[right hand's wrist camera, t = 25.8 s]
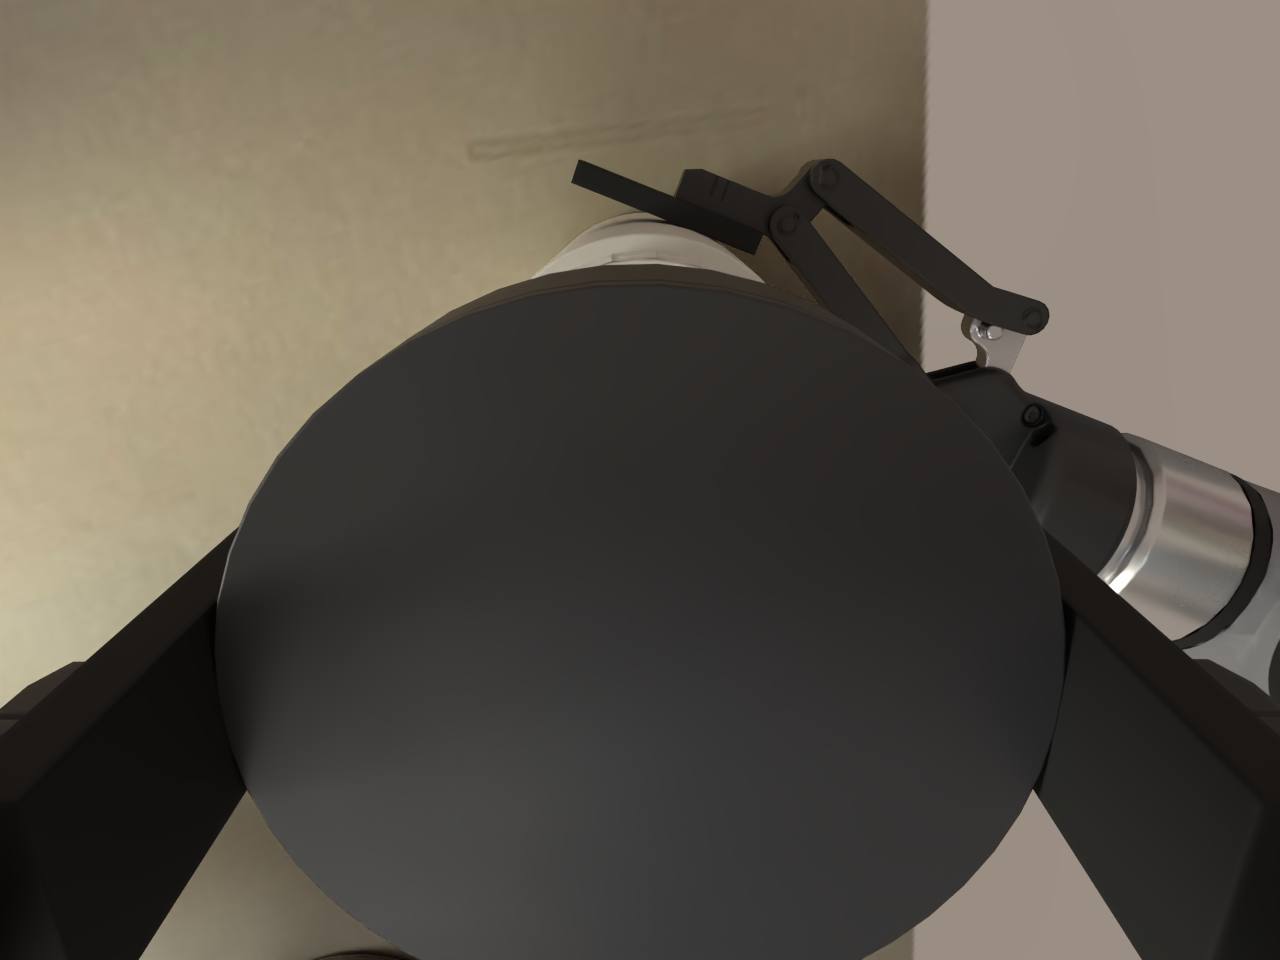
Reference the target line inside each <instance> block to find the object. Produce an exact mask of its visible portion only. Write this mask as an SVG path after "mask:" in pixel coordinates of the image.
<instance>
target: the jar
mask: <svg viewBox="0 0 1280 960" xmlns="http://www.w3.org/2000/svg"><path fill="white" fill-rule="evenodd" d="M625 264H664V265H674V266H683V267H692V268H701V269H710V270H715V271H718V272H722V273H726V274H730V275H734V276H738V277H742V278H746V279H750V280H754V281H758V282H762V283H765V282H764V281H763V280H762V279H761V278H760V277H759V276H758V275H757V274H756V273H754V272H753V271H752V270H751V269H750V268H749V267H748V266H746V265H745V264H744V263H743V262H742V261H741V260H740V259H738V258H737V257H736V256H735V255H734V254H733V253H732V252H730V251H729V250H728V249H727V248H726V247H725V246H724V245H722V244H721V243H720V242H719V241H717V240H714V239H712V238H709V237H707V236H704V235H702V234H699V233H697V232H694V231H692V230H689V229H687V228H684V227H682V226H679V225H677V224H674V223H672V222H669V221H667V220H664V219H662V218H659V217H657V216H654V215H651V214H649V213H632V214H626V215H620V216H617V217H614V218H610V219H607V220H605V221H603V222H600V223H598V224H596V225H594V226H592V227H591V228H589V229H588V230H586V231H584V232H583V233H581V234H580V235H579V236H578V237H576V238H575V239H574V240H573V241H572V242H571V243H569V244H568V245H567V246H566V247H565V248H564V249H563V250H562V251H561V252H559V253H558V254H557V255H556V256H555V257H554V258H553V259H552V260H551V261H550V262H548V263H547V264H546V265H545V266H544V267H543V268H542V269H541V270H540V271H539V272H538V273H536V274H535V275H534V276H533V277H532V278H531V279H533V278H537V277H540V276H543V275H547V274H550V273H556V272H563V271H569V270H575V269H581V268H588V267H594V266H600V265H625ZM765 284H766V283H765Z"/></svg>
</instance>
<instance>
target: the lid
mask: <svg viewBox="0 0 1280 960" xmlns="http://www.w3.org/2000/svg"><path fill="white" fill-rule="evenodd" d="M1065 650H1066V629H1065V622H1064V614H1063V607H1062V599H1061V591H1060V584H1059V580H1058V576H1057V573H1056V570H1055V566H1054V563H1053V559H1052V556H1051V553H1050V549H1049V546H1048V543H1047V539H1046V536H1045V533H1044V531H1043V529H1042V527H1041V525H1040V523H1039V520H1038V518H1037V516H1036V514H1035V512H1034V510H1033V508H1032V506H1031V504H1030V502H1029V500H1028V498H1027V495H1026V493H1025V491H1024V489H1023V487H1022V485H1021V484H1020V482H1019V481H1018V479H1017V478H1016V477H1015V475H1014V474H1013V472H1012V471H1011V469H1010V468H1009V466H1008V465H1007V464H1006V462H1005V461H1004V459H1003V458H1002V456H1001V455H1000V453H999V452H998V451H997V449H996V448H995V446H994V445H993V443H992V442H991V440H990V439H989V438H988V437H987V436H986V435H985V434H984V433H983V432H982V431H981V430H980V429H979V428H978V427H977V426H976V424H975V423H974V422H973V421H972V420H971V419H970V418H969V417H968V416H967V415H966V414H965V413H964V412H963V411H962V410H961V409H960V408H959V406H958V405H957V404H956V403H955V402H954V401H953V400H952V399H951V398H950V397H948V396H947V395H946V394H945V393H943V392H942V391H941V390H939V389H938V388H937V387H936V386H934V385H933V384H932V383H931V382H929V381H928V380H927V379H925V378H924V377H923V376H922V375H920V374H919V373H918V372H917V371H915V370H914V369H913V368H911V367H910V366H909V365H908V364H906V363H905V362H904V361H902V360H901V359H900V358H898V357H897V356H895V355H894V354H893V353H891V352H890V351H888V350H887V349H886V348H884V347H883V346H881V345H880V344H878V343H877V342H876V341H874V340H873V339H871V338H870V337H869V336H867V335H866V334H864V333H863V332H862V331H860V330H859V329H857V328H856V327H854V326H852V325H851V324H849V323H847V322H845V321H844V320H842V319H840V318H838V317H837V316H835V315H833V314H831V313H830V312H828V311H826V310H825V309H823V308H821V307H819V306H818V305H816V304H814V303H812V302H810V301H807V300H805V299H802V298H800V297H798V296H795V295H793V294H790V293H788V292H785V291H783V290H780V289H778V288H775V287H773V286H770V285H768V284H765V283H762V282H758V281H754V280H750V279H746V278H742V277H738V276H734V275H730V274H726V273H722V272H718V271H715V270H710V269H701V268H692V267H683V266H674V265H664V264H625V265H600V266H594V267H588V268H581V269H575V270H569V271H563V272H556V273H550V274H547V275H543V276H540V277H537V278H533V279H530V280H527V281H524V282H520V283H517V284H514V285H510V286H507V287H504V288H501V289H498V290H496V291H493V292H491V293H489V294H487V295H485V296H483V297H480V298H478V299H476V300H474V301H472V302H470V303H467V304H465V305H463V306H461V307H459V308H457V309H454V310H452V311H450V312H449V313H447V314H446V315H444V316H443V317H441V318H440V319H438V320H436V321H435V322H433V323H432V324H430V325H429V326H427V327H426V328H424V329H423V330H421V331H419V332H418V333H416V334H415V335H413V336H412V337H410V338H409V339H407V340H406V341H404V342H403V343H401V344H400V345H399V346H397V347H396V348H394V349H393V350H392V351H390V352H389V353H387V354H386V355H385V356H383V357H382V358H380V359H379V360H377V361H376V362H375V363H373V364H372V365H370V366H369V367H368V368H366V369H365V370H363V371H362V372H361V373H359V374H358V375H357V376H355V377H354V378H353V379H352V380H351V381H350V382H349V383H347V384H346V385H345V386H344V387H343V388H342V389H341V390H339V391H338V392H337V393H336V394H335V395H334V396H333V397H331V398H330V399H329V400H328V401H327V402H326V403H325V404H323V405H322V406H321V407H320V408H319V409H318V410H317V411H316V412H314V413H313V414H312V416H311V417H310V418H309V419H308V420H307V422H306V423H305V424H304V425H303V426H302V427H301V429H300V430H299V431H298V432H297V433H296V435H295V436H294V437H293V438H292V439H291V440H290V442H289V443H288V444H287V445H286V446H285V448H284V449H283V450H282V451H281V452H280V454H279V455H278V456H277V457H276V459H275V461H274V462H273V464H272V466H271V467H270V469H269V470H268V472H267V474H266V475H265V477H264V479H263V480H262V482H261V484H260V485H259V487H258V489H257V490H256V492H255V493H254V495H253V497H252V498H251V500H250V502H249V504H248V506H247V508H246V511H245V513H244V516H243V518H242V521H241V523H240V525H239V528H238V530H237V533H236V535H235V538H234V540H233V542H232V545H231V547H230V550H229V553H228V557H227V562H226V566H225V570H224V574H223V579H222V583H221V587H220V591H219V596H218V600H217V612H216V626H215V639H214V660H215V672H216V684H217V690H218V695H219V700H220V705H221V710H222V714H223V719H224V724H225V728H226V733H227V738H228V742H229V746H230V749H231V751H232V754H233V756H234V759H235V761H236V764H237V766H238V769H239V771H240V774H241V776H242V779H243V782H244V784H245V787H246V788H247V790H248V792H249V794H250V795H251V797H252V799H253V801H254V803H255V804H256V806H257V808H258V810H259V811H260V813H261V815H262V817H263V818H264V820H265V822H266V824H267V825H268V827H269V829H270V830H271V831H272V832H273V834H274V835H275V836H276V838H277V839H278V840H279V842H280V843H281V844H282V846H283V847H284V848H285V850H286V851H287V852H288V854H289V855H290V856H291V858H292V859H293V860H294V862H295V863H296V864H297V865H298V866H299V867H300V868H301V869H302V870H303V871H304V872H305V873H306V874H307V876H308V877H309V878H310V879H311V880H312V881H313V882H314V883H315V884H316V885H317V886H318V887H319V888H320V889H321V890H322V891H323V892H324V893H325V894H326V895H327V896H328V897H329V898H330V899H331V900H333V901H334V902H335V903H336V904H338V905H339V906H340V907H341V908H342V909H344V910H345V911H346V912H347V913H349V914H350V915H351V916H352V917H354V918H355V919H356V920H357V921H358V922H360V923H361V924H362V925H363V926H365V927H366V928H368V929H369V930H371V931H372V932H374V933H376V934H377V935H379V936H380V937H382V938H383V939H385V940H386V941H388V942H389V943H391V944H393V945H394V946H396V947H397V948H399V949H400V950H402V951H404V952H406V953H408V954H410V955H412V956H413V957H415V958H417V959H419V960H861V959H863V958H865V957H867V956H868V955H870V954H872V953H874V952H876V951H877V950H879V949H881V948H883V947H885V946H887V945H888V944H890V943H892V942H893V941H895V940H896V939H898V938H899V937H900V936H902V935H903V934H905V933H906V932H908V931H909V930H910V929H912V928H913V927H915V926H916V925H917V924H919V923H920V922H922V921H923V920H925V919H926V918H927V917H929V916H930V915H931V914H932V913H934V912H935V911H936V910H937V909H938V908H939V907H940V906H941V905H942V904H944V903H945V902H946V901H947V900H948V899H949V898H950V897H951V896H953V895H954V894H955V893H956V892H957V891H958V890H959V889H961V888H962V887H963V886H964V885H965V884H966V883H967V882H968V880H969V879H970V878H971V877H972V876H973V875H974V874H975V872H976V871H977V870H978V869H979V868H980V867H981V866H982V865H983V863H984V862H985V861H986V860H987V859H988V858H989V857H990V856H991V855H992V853H993V852H994V851H995V850H996V848H997V847H998V845H999V844H1000V842H1001V841H1002V839H1003V838H1004V837H1005V835H1006V834H1007V832H1008V831H1009V829H1010V828H1011V826H1012V825H1013V823H1014V822H1015V820H1016V819H1017V817H1018V816H1019V815H1020V813H1021V811H1022V809H1023V807H1024V805H1025V803H1026V801H1027V799H1028V797H1029V795H1030V793H1031V791H1032V789H1033V787H1034V785H1035V783H1036V781H1037V779H1038V777H1039V775H1040V773H1041V771H1042V768H1043V765H1044V762H1045V759H1046V757H1047V754H1048V751H1049V748H1050V745H1051V742H1052V739H1053V736H1054V732H1055V728H1056V723H1057V718H1058V713H1059V708H1060V703H1061V698H1062V693H1063V688H1064V682H1065Z"/></svg>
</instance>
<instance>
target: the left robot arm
mask: <svg viewBox="0 0 1280 960" xmlns="http://www.w3.org/2000/svg"><path fill="white" fill-rule="evenodd" d="M571 183H573V184H576V185H578V186H581V187H583V188H586V189H589V190H591V191H594V192H596V193H599V194H601V195H604V196H606V197H609V198H611V199H614V200H616V201H619V202H621V203H624V204H626V205H629V206H631V207H634V208H636V209H639V210H641V211H644V212H646V213H649V214H651V215H654V216H657V217H659V218H662V219H664V220H667V221H669V222H672V223H674V224H677V225H679V226H682V227H684V228H687V229H689V230H692V231H694V232H697V233H699V234H702V235H704V236H707V237H709V238H712V239H714V240H717V241H719V242H722V243H725V244H727V245H730V246H732V247H735V248H737V249H740V250H742V251H745V252H747V253H750V254H752V255H755V252H756V250H757V247H758V245H759V243H760V240H761V238H762V235H765V236H767V237H768V238H769V240H770V241H771V242H772V243H773V245H774V246H775V247H776V249H777V250H778V251H779V253H780V254H781V255H782V256H783V258H784V259H785V260H786V262H787V263H788V264H789V265H790V267H791V268H792V269H793V271H794V272H795V273H796V274H797V276H798V277H799V278H800V280H801V281H802V282H803V283H804V285H805V286H806V287H807V289H808V290H809V291H810V293H811V294H812V295H813V296H814V298H815V299H816V300H817V302H818V303H819V304H820V305H821V307H822V308H823V309H825V310H826V311H828V312H830V313H831V314H833V315H835V316H837V317H838V318H840V319H842V320H844V321H845V322H847V323H849V324H851V325H852V326H854V327H856V328H857V329H859V330H860V331H862V332H863V333H864V334H866V335H867V336H869V337H870V338H871V339H873V340H874V341H876V342H877V343H878V344H880V345H881V346H883V347H884V348H886V349H887V350H888V351H890V352H891V353H893V354H894V355H895V356H897V357H898V358H900V359H901V360H902V361H904V362H905V363H906V364H908V365H909V366H910V367H911V368H913V369H914V370H915V371H917V372H918V373H919V374H920V375H922V376H923V377H924V378H925V379H927V380H928V381H929V382H931V383H932V384H933V385H934V386H936V387H937V388H938V389H939V390H941V391H942V392H943V393H945V394H946V395H947V396H948V397H950V398H951V399H952V400H953V401H954V402H955V403H956V404H957V405H958V406H959V408H960V409H961V410H962V411H963V412H964V413H965V414H966V415H967V416H968V417H969V418H970V419H971V420H972V421H973V422H974V423H975V424H976V426H977V427H978V428H979V429H980V430H981V431H982V432H983V433H984V434H985V435H986V436H987V437H988V438H989V439H990V440H991V442H992V443H993V445H994V446H995V448H996V449H997V451H998V452H999V453H1000V455H1001V456H1002V458H1003V459H1004V461H1005V462H1006V464H1007V465H1008V466H1009V468H1010V469H1011V471H1012V472H1013V474H1014V475H1015V477H1016V478H1017V479H1018V481H1019V482H1020V484H1021V485H1022V487H1023V489H1024V491H1025V493H1026V495H1027V498H1028V500H1029V502H1030V504H1031V506H1032V508H1033V510H1034V512H1035V514H1036V516H1037V518H1038V520H1039V523H1040V525H1041V526H1042V527H1043V528H1044V529H1045V530H1046V531H1047V532H1048V533H1050V534H1051V535H1052V536H1053V537H1054V538H1055V539H1056V540H1058V541H1059V542H1060V543H1061V544H1062V545H1063V546H1064V547H1066V548H1067V549H1068V550H1069V551H1070V552H1071V553H1072V554H1074V555H1075V556H1076V557H1077V558H1078V559H1079V560H1080V561H1081V562H1083V563H1084V564H1085V565H1086V566H1087V567H1088V568H1089V569H1091V570H1092V571H1093V572H1094V573H1095V574H1096V575H1097V576H1099V577H1100V578H1101V579H1102V580H1103V581H1104V582H1105V583H1106V584H1108V585H1109V586H1110V587H1111V588H1112V589H1113V590H1114V591H1116V592H1117V593H1118V594H1119V595H1120V596H1121V597H1122V598H1124V599H1125V600H1126V601H1127V602H1128V603H1129V604H1130V605H1131V606H1133V607H1134V608H1135V609H1136V610H1137V611H1138V612H1139V613H1141V614H1142V615H1143V616H1144V617H1145V618H1146V619H1147V620H1149V621H1150V622H1151V623H1152V624H1153V625H1154V626H1155V627H1157V628H1158V629H1159V630H1160V631H1161V632H1162V633H1163V634H1164V635H1166V636H1167V637H1168V638H1169V639H1170V640H1171V641H1172V642H1174V643H1175V644H1176V645H1177V646H1178V647H1179V648H1180V649H1182V650H1183V651H1184V652H1185V653H1186V654H1187V655H1188V656H1189V657H1191V658H1192V659H1209V660H1211V661H1213V662H1215V663H1217V664H1219V665H1221V666H1222V667H1224V668H1226V669H1228V670H1230V671H1232V672H1234V673H1236V674H1238V675H1240V676H1241V677H1243V678H1245V679H1247V680H1249V681H1251V682H1253V683H1254V684H1256V685H1257V686H1258V687H1259V688H1260V689H1262V690H1263V691H1264V692H1265V693H1266V694H1268V695H1269V696H1270V697H1271V698H1272V699H1274V700H1275V701H1276V702H1277V703H1278V704H1280V493H1278V492H1275V491H1272V490H1269V489H1267V488H1264V487H1261V486H1258V485H1256V484H1253V483H1250V482H1247V481H1245V480H1243V479H1241V478H1239V477H1237V476H1235V475H1233V474H1231V473H1228V472H1227V471H1224V470H1222V469H1219V468H1217V467H1214V466H1212V465H1209V464H1207V463H1204V462H1202V461H1199V460H1197V459H1194V458H1192V457H1189V456H1187V455H1184V454H1182V453H1179V452H1176V451H1174V450H1171V449H1169V448H1166V447H1164V446H1161V445H1159V444H1156V443H1154V442H1151V441H1149V440H1146V439H1144V438H1141V437H1138V436H1135V435H1132V434H1129V433H1120V432H1119V431H1118V430H1117V429H1115V428H1114V427H1112V426H1110V425H1108V424H1106V423H1103V422H1101V421H1098V420H1095V419H1093V418H1090V417H1088V416H1085V415H1083V414H1080V413H1078V412H1075V411H1073V410H1070V409H1067V408H1065V407H1062V406H1060V405H1057V404H1055V403H1052V402H1050V401H1047V400H1044V399H1042V398H1039V397H1037V396H1034V395H1032V394H1029V393H1027V392H1025V391H1023V390H1022V389H1021V388H1020V386H1019V385H1018V384H1017V382H1016V381H1015V379H1014V378H1013V377H1012V376H1011V375H1010V371H1011V369H1012V367H1013V365H1014V362H1015V360H1016V358H1017V356H1018V353H1019V351H1020V349H1021V347H1022V344H1023V342H1024V340H1025V338H1026V335H1033V334H1036V333H1039V332H1040V331H1041V330H1043V329H1044V327H1045V326H1046V325H1047V323H1048V320H1049V310H1048V308H1047V307H1046V305H1045V304H1044V303H1042V302H1040V301H1037V300H1034V299H1031V298H1028V297H1025V296H1022V295H1018V294H1015V293H1012V292H1009V291H1006V290H1002V289H999V288H996V287H993V286H992V285H990V284H989V283H988V282H987V281H986V280H984V279H983V278H982V277H981V276H979V275H978V274H977V273H976V272H974V271H973V270H972V269H971V268H970V267H968V266H967V265H966V264H965V263H963V262H962V261H961V260H960V259H959V258H957V257H956V256H955V255H954V254H952V253H951V252H950V251H949V250H948V249H946V248H945V247H944V246H943V245H941V244H940V243H939V242H938V241H937V240H935V239H934V238H933V237H932V236H930V235H929V234H928V233H927V232H926V231H924V230H923V229H922V228H921V227H919V226H918V225H917V224H916V223H914V222H913V221H912V220H911V219H910V218H908V217H907V216H906V215H905V214H903V213H902V212H901V211H900V210H899V209H897V208H896V207H895V206H894V205H892V204H891V203H890V202H889V201H888V200H886V199H885V198H884V197H883V196H881V195H880V194H879V193H878V192H877V191H875V190H874V189H873V188H872V187H870V186H869V185H868V184H867V183H865V182H864V181H863V180H862V179H861V178H859V177H858V176H857V175H856V174H854V173H853V172H852V171H851V170H850V169H848V168H847V167H846V166H845V165H843V164H842V163H841V162H839V161H837V160H835V159H820V160H812V161H809V162H807V163H806V164H805V165H804V166H802V167H801V169H800V171H799V173H798V175H797V176H796V177H795V178H794V179H793V180H792V182H791V183H790V184H789V185H788V186H787V187H786V188H785V189H784V190H783V191H782V192H780V193H778V194H776V195H772V196H767V195H764V194H762V193H759V192H757V191H754V190H752V189H750V188H747V187H745V186H742V185H740V184H737V183H735V182H732V181H730V180H727V179H725V178H722V177H720V176H717V175H715V174H713V173H710V172H708V171H705V170H703V169H686V170H684V171H683V173H682V176H681V179H680V181H679V184H678V187H677V189H676V192H675V195H674V197H673V196H670V195H668V194H666V193H663V192H661V191H658V190H656V189H653V188H651V187H648V186H646V185H643V184H641V183H638V182H636V181H633V180H631V179H628V178H626V177H623V176H621V175H618V174H616V173H613V172H611V171H608V170H606V169H603V168H601V167H598V166H596V165H593V164H591V163H588V162H586V161H583V160H578V163H577V166H576V169H575V172H574V176H573V179H572V182H571ZM822 208H824V209H825V210H826V211H827V212H829V213H830V214H831V215H832V216H834V217H835V218H836V219H837V220H839V221H840V222H841V223H842V224H844V225H845V226H846V227H847V228H849V229H850V230H851V231H852V232H854V233H855V234H856V235H857V236H859V237H860V238H861V239H862V240H864V241H865V242H866V243H867V244H869V245H870V246H871V247H872V248H874V249H875V250H876V251H878V252H879V253H880V254H881V255H883V256H884V257H885V258H886V259H888V260H889V261H890V262H891V263H893V264H894V265H895V266H896V267H898V268H899V269H900V270H901V271H903V272H904V273H905V274H906V275H908V276H909V277H910V278H911V279H913V280H914V281H915V282H916V283H918V284H919V285H920V286H921V287H923V288H924V289H925V290H926V291H928V292H929V293H930V294H931V295H933V296H934V297H935V298H936V299H938V300H939V301H941V302H942V303H944V304H945V305H947V306H949V307H951V308H953V309H954V310H956V311H959V312H961V313H963V314H965V315H964V317H963V320H962V323H961V330H962V333H963V335H964V336H965V337H966V338H968V339H969V340H971V341H972V342H973V343H974V344H975V345H976V348H977V358H976V361H971V362H967V363H963V364H959V365H956V366H952V367H948V368H944V369H940V370H937V371H933V372H928V373H925V372H924V370H923V369H922V368H921V366H920V365H919V364H918V363H917V362H916V360H915V359H914V358H913V357H912V356H911V355H910V354H909V353H908V352H907V350H906V349H905V348H904V347H903V345H902V344H901V343H900V341H899V340H898V339H897V337H896V336H895V335H894V333H893V332H892V331H891V329H890V328H889V327H888V325H887V324H886V323H885V321H884V320H883V319H882V317H881V316H880V315H879V313H878V312H877V311H876V309H875V308H874V307H873V305H872V304H871V303H870V301H869V300H868V299H867V297H866V296H865V295H864V294H863V292H862V291H861V290H860V288H859V287H858V286H857V284H856V283H855V282H854V280H853V279H852V278H851V276H850V275H849V274H848V272H847V271H846V270H845V268H844V267H843V266H842V264H841V263H840V262H839V260H838V259H837V258H836V256H835V255H834V254H833V252H832V251H831V250H830V248H829V247H828V246H827V244H826V243H825V242H824V240H823V239H822V238H821V236H820V235H819V234H818V232H817V231H816V230H815V228H814V227H813V226H812V224H811V223H810V222H811V221H812V220H813V219H814V217H815V216H816V215H817V214H818V213H819V212H820V211H821V210H822ZM317 960H401V959H397V958H392V957H386V956H380V955H369V954H349V955H337V956H330V957H325V958H321V959H317Z"/></svg>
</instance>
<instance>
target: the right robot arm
mask: <svg viewBox="0 0 1280 960" xmlns="http://www.w3.org/2000/svg"><path fill="white" fill-rule="evenodd" d="M1041 527H1042V526H1041ZM238 528H239V527H238ZM238 528H237V529H235V530H234V531H233V532H232V533H231V534H230V535H229V536H228V537H226V538H225V539H224V540H223V541H222V542H221V543H220V544H218V545H217V546H216V547H215V548H214V549H213V550H212V551H210V552H209V553H208V554H207V555H206V556H205V557H204V558H203V559H201V560H200V561H199V562H198V563H197V564H196V565H195V566H193V567H192V568H191V569H190V570H189V571H188V572H187V573H185V574H184V575H183V576H182V577H181V578H180V579H179V580H178V581H176V582H175V583H174V584H173V585H172V586H171V587H170V588H168V589H167V590H166V591H165V592H164V593H163V594H162V595H160V596H159V597H158V598H157V599H156V600H155V601H154V602H153V603H151V604H150V605H149V606H148V607H147V608H146V609H145V610H143V611H142V612H141V613H140V614H139V615H138V616H137V617H135V618H134V619H133V620H132V621H131V622H130V623H129V624H128V625H126V626H125V627H124V628H123V629H122V630H121V631H120V632H118V633H117V634H116V635H115V636H114V637H113V638H112V639H110V640H109V641H108V642H107V643H106V644H105V645H104V646H102V647H101V648H100V649H99V650H98V651H97V652H96V653H95V654H93V655H92V656H91V657H90V658H89V659H88V660H87V661H85V662H72V663H70V664H68V665H66V666H64V667H62V668H61V669H59V670H57V671H55V672H53V673H51V674H49V675H47V676H45V677H44V678H42V679H40V680H38V681H36V682H34V683H32V684H30V685H28V686H27V687H26V688H25V689H23V690H22V691H21V692H20V693H19V694H17V695H16V696H15V697H14V698H13V699H12V700H10V701H9V702H8V703H7V704H6V705H4V706H3V707H2V708H1V709H0V960H139V958H140V957H141V955H142V954H143V952H144V951H145V949H146V947H147V946H148V944H149V943H150V941H151V940H152V938H153V936H154V935H155V933H156V932H157V930H158V929H159V927H160V925H161V924H162V922H163V921H164V919H165V918H166V916H167V914H168V913H169V911H170V910H171V908H172V907H173V905H174V903H175V902H176V900H177V899H178V897H179V896H180V894H181V892H182V891H183V889H184V888H185V886H186V885H187V883H188V882H189V880H190V878H191V877H192V875H193V874H194V872H195V871H196V869H197V867H198V866H199V864H200V863H201V861H202V860H203V858H204V856H205V855H206V853H207V852H208V850H209V849H210V847H211V845H212V844H213V842H214V841H215V839H216V838H217V836H218V834H219V833H220V831H221V830H222V828H223V827H224V825H225V823H226V822H227V820H228V819H229V817H230V816H231V814H232V813H233V811H234V809H235V808H236V806H237V805H238V803H239V802H240V800H241V798H242V797H243V795H244V794H245V792H246V791H247V788H246V787H245V784H244V782H243V779H242V776H241V774H240V771H239V769H238V766H237V764H236V761H235V759H234V756H233V754H232V751H231V749H230V746H229V742H228V738H227V733H226V728H225V724H224V719H223V714H222V710H221V705H220V700H219V695H218V690H217V684H216V672H215V660H214V639H215V626H216V612H217V600H218V596H219V591H220V587H221V583H222V579H223V574H224V570H225V566H226V562H227V557H228V553H229V550H230V547H231V545H232V542H233V540H234V538H235V535H236V533H237V530H238ZM1042 529H1043V531H1044V533H1045V536H1046V539H1047V543H1048V546H1049V549H1050V553H1051V556H1052V559H1053V563H1054V566H1055V570H1056V573H1057V576H1058V580H1059V584H1060V591H1061V599H1062V607H1063V614H1064V622H1065V629H1066V650H1065V682H1064V688H1063V693H1062V698H1061V703H1060V708H1059V713H1058V718H1057V723H1056V728H1055V732H1054V736H1053V739H1052V742H1051V745H1050V748H1049V751H1048V754H1047V757H1046V759H1045V762H1044V765H1043V768H1042V771H1041V773H1040V775H1039V777H1038V779H1037V781H1036V783H1035V785H1034V787H1033V790H1034V791H1035V793H1036V794H1037V796H1038V798H1039V799H1040V801H1041V802H1042V804H1043V805H1044V807H1045V809H1046V810H1047V812H1048V813H1049V815H1050V816H1051V818H1052V819H1053V821H1054V823H1055V824H1056V826H1057V827H1058V829H1059V830H1060V832H1061V834H1062V835H1063V837H1064V838H1065V840H1066V841H1067V843H1068V845H1069V846H1070V848H1071V849H1072V851H1073V852H1074V854H1075V856H1076V857H1077V859H1078V860H1079V862H1080V863H1081V865H1082V866H1083V868H1084V870H1085V871H1086V873H1087V874H1088V876H1089V877H1090V879H1091V881H1092V882H1093V884H1094V885H1095V887H1096V888H1097V890H1098V892H1099V893H1100V895H1101V896H1102V898H1103V899H1104V901H1105V903H1106V904H1107V906H1108V907H1109V909H1110V910H1111V912H1112V914H1113V915H1114V917H1115V918H1116V920H1117V921H1118V923H1119V924H1120V926H1121V928H1122V929H1123V931H1124V932H1125V934H1126V936H1127V937H1128V939H1129V940H1130V942H1131V943H1132V945H1133V946H1134V948H1135V950H1136V951H1137V953H1138V954H1139V956H1140V957H1141V959H1142V960H1280V704H1278V703H1277V702H1276V701H1275V700H1274V699H1272V698H1271V697H1270V696H1269V695H1268V694H1266V693H1265V692H1264V691H1263V690H1262V689H1260V688H1259V687H1258V686H1257V685H1256V684H1254V683H1253V682H1251V681H1249V680H1247V679H1245V678H1243V677H1241V676H1240V675H1238V674H1236V673H1234V672H1232V671H1230V670H1228V669H1226V668H1224V667H1222V666H1221V665H1219V664H1217V663H1215V662H1213V661H1211V660H1209V659H1192V658H1191V657H1189V656H1188V655H1187V654H1186V653H1185V652H1184V651H1183V650H1182V649H1180V648H1179V647H1178V646H1177V645H1176V644H1175V643H1174V642H1172V641H1171V640H1170V639H1169V638H1168V637H1167V636H1166V635H1164V634H1163V633H1162V632H1161V631H1160V630H1159V629H1158V628H1157V627H1155V626H1154V625H1153V624H1152V623H1151V622H1150V621H1149V620H1147V619H1146V618H1145V617H1144V616H1143V615H1142V614H1141V613H1139V612H1138V611H1137V610H1136V609H1135V608H1134V607H1133V606H1131V605H1130V604H1129V603H1128V602H1127V601H1126V600H1125V599H1124V598H1122V597H1121V596H1120V595H1119V594H1118V593H1117V592H1116V591H1114V590H1113V589H1112V588H1111V587H1110V586H1109V585H1108V584H1106V583H1105V582H1104V581H1103V580H1102V579H1101V578H1100V577H1099V576H1097V575H1096V574H1095V573H1094V572H1093V571H1092V570H1091V569H1089V568H1088V567H1087V566H1086V565H1085V564H1084V563H1083V562H1081V561H1080V560H1079V559H1078V558H1077V557H1076V556H1075V555H1074V554H1072V553H1071V552H1070V551H1069V550H1068V549H1067V548H1066V547H1064V546H1063V545H1062V544H1061V543H1060V542H1059V541H1058V540H1056V539H1055V538H1054V537H1053V536H1052V535H1051V534H1050V533H1048V532H1047V531H1046V530H1045V529H1044V528H1043V527H1042Z"/></svg>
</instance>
